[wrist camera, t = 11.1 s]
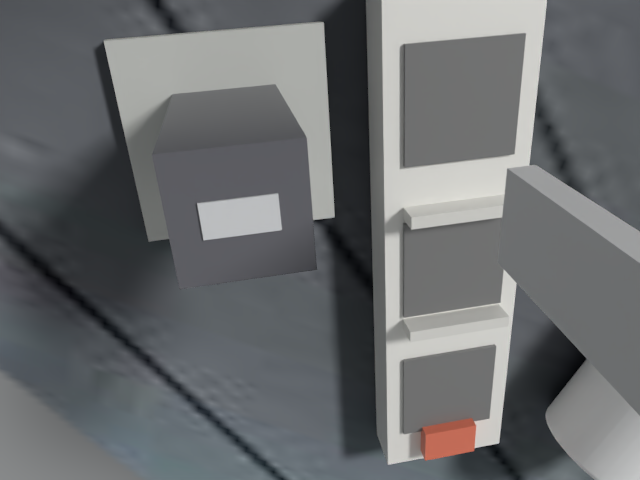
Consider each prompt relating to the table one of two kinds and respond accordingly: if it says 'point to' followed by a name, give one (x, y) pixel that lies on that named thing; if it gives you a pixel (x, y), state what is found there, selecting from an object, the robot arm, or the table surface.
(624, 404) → the mug
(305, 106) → the felt pad
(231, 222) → the block
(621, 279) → the robot arm
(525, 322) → the table surface
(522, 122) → the power strip
